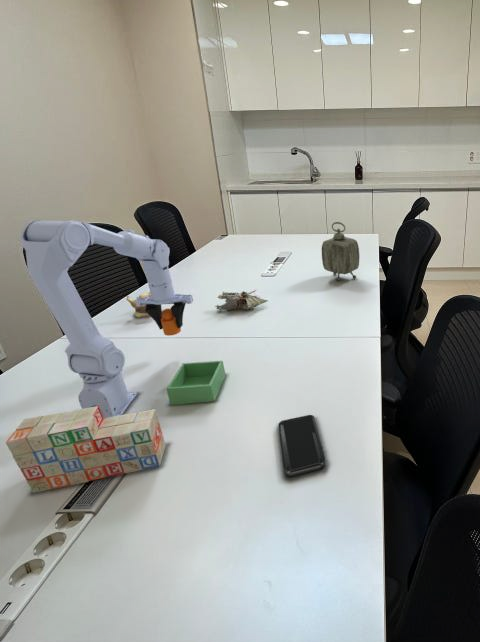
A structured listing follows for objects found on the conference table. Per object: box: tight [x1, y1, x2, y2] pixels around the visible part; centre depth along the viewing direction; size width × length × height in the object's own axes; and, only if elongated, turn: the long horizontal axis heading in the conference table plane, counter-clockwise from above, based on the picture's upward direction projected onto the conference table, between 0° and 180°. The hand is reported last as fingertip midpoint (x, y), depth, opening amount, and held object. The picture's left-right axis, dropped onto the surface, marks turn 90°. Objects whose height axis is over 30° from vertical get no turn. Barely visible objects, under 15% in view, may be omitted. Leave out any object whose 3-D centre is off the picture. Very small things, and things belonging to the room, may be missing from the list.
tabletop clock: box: [321, 221, 360, 281], centre depth 165 cm, size 14×9×25 cm, turn 58°
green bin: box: [166, 360, 227, 406], centre depth 97 cm, size 11×10×5 cm
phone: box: [278, 414, 327, 478], centre depth 79 cm, size 8×1×15 cm
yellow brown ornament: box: [126, 291, 151, 319], centre depth 140 cm, size 12×10×8 cm
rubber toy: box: [161, 308, 182, 337], centre depth 110 cm, size 4×4×7 cm
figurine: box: [214, 288, 269, 311], centre depth 143 cm, size 20×6×17 cm
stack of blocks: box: [5, 406, 166, 494], centre depth 73 cm, size 21×6×12 cm, turn 105°
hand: (171, 327), depth 111 cm, fingers closed on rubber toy, 4 cm apart
